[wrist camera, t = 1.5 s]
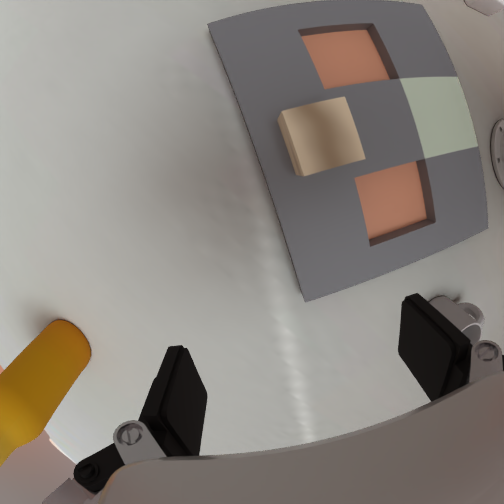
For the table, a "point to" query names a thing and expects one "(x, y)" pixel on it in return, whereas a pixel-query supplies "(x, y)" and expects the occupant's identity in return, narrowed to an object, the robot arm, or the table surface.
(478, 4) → the medicine bottle
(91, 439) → the table surface
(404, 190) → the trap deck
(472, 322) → the cup
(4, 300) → the table surface
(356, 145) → the beech block
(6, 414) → the beer bottle
